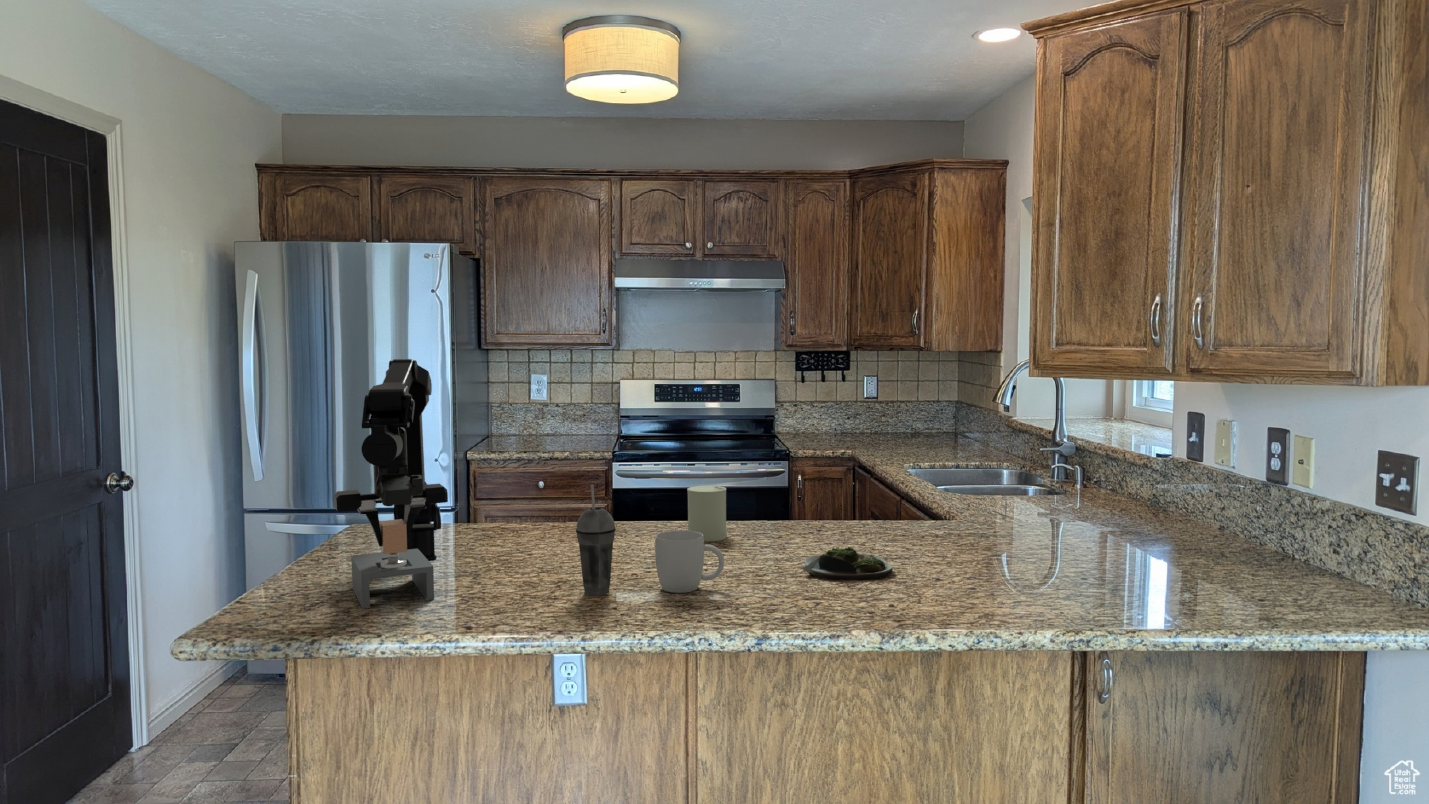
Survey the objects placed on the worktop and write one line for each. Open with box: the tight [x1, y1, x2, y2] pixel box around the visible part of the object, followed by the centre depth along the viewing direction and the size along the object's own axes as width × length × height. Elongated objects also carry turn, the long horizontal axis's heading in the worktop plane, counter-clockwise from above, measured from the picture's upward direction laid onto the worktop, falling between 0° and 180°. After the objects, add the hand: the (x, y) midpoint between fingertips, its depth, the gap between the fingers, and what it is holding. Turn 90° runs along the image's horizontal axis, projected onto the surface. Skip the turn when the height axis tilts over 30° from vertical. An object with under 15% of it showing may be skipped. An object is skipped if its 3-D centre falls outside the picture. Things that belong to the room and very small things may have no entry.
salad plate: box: [802, 546, 893, 581], centre depth 182 cm, size 19×18×5 cm
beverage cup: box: [575, 484, 617, 597], centre depth 165 cm, size 7×7×20 cm
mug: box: [654, 530, 725, 594], centre depth 167 cm, size 13×9×10 cm
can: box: [686, 485, 728, 543], centre depth 211 cm, size 9×9×12 cm
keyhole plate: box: [351, 549, 435, 610], centre depth 166 cm, size 12×16×6 cm
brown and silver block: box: [379, 519, 408, 569], centre depth 163 cm, size 4×5×9 cm
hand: (393, 544), depth 163 cm, fingers closed on brown and silver block, 4 cm apart
